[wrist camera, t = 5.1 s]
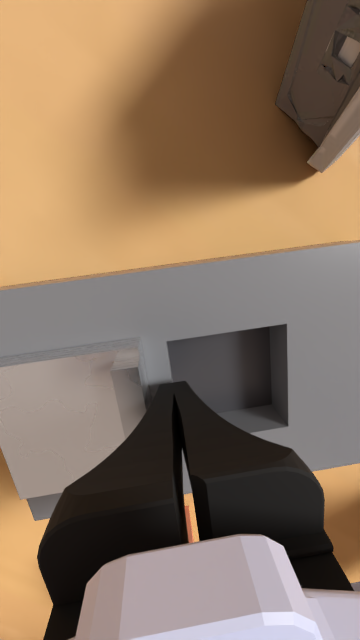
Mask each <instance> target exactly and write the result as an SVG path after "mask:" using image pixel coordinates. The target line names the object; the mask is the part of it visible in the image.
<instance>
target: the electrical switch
mask: <svg viewBox="0 0 360 640" xmlns="http://www.w3.org/2000/svg"><path fill="white" fill-rule="evenodd" d="M324 65H325V66H327V67H323V66H324ZM275 105H277V106H278V107H279V108H280V109H281V110H282V111H284V112H285V113H286V114H287V115H288V116H290V117H291V118H292V119H293V120H294V121H295V122H296V123H297V125H298V126H299V128H300V129H301V130H302V132H304V133H305V134H306V135H308V136H309V137H310V138H311V139H312V140H313V141H314V142H315V144H316V145H317V146H318V149H317V150H316V151H315V153H314V154H313V155H312V156H311V158H310V159H309V160H308V161H307V163H308V164H309V165H310V166H312V167H313V168H315V169H316V170H318V171H320V172H321V173H322V172H324V171H325V170H326V169H327V168H328V167H330V166H331V165H332V164H333V163H334V162H335V161H337V160H338V159H339V158H340V156H341V155H342V154H343V153H344V152H345V151H346V150H347V149H348V148H349V147H350V146H351V144H352V143H353V142H354V141H355V140H356V139H357V138H358V137H359V136H360V0H307V3H306V6H305V9H304V12H303V16H302V19H301V22H300V25H299V29H298V32H297V35H296V38H295V41H294V45H293V48H292V51H291V54H290V58H289V61H288V64H287V67H286V70H285V74H284V77H283V80H282V83H281V87H280V90H279V93H278V96H277V99H276V103H275Z"/></svg>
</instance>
